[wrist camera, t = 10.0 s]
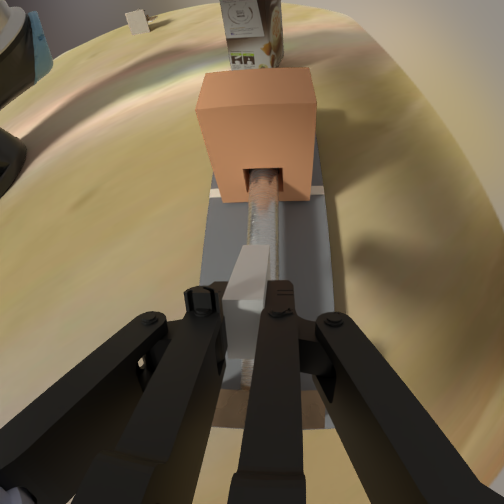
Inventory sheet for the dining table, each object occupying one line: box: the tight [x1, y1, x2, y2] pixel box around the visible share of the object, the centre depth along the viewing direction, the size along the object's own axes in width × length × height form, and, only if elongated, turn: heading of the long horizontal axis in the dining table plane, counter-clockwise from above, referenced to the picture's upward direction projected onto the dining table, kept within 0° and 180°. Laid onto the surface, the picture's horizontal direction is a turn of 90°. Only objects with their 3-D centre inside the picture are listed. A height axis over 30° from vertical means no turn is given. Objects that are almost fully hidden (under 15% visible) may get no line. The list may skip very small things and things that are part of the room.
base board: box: [199, 132, 335, 430], centre depth 28 cm, size 32×11×2 cm, turn 178°
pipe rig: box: [212, 168, 325, 429], centre depth 25 cm, size 31×8×5 cm, turn 178°
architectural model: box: [125, 9, 158, 35], centre depth 56 cm, size 3×7×7 cm, turn 75°
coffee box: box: [220, 0, 284, 71], centre depth 36 cm, size 9×6×16 cm
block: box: [195, 67, 317, 203], centre depth 25 cm, size 5×8×11 cm, turn 88°
